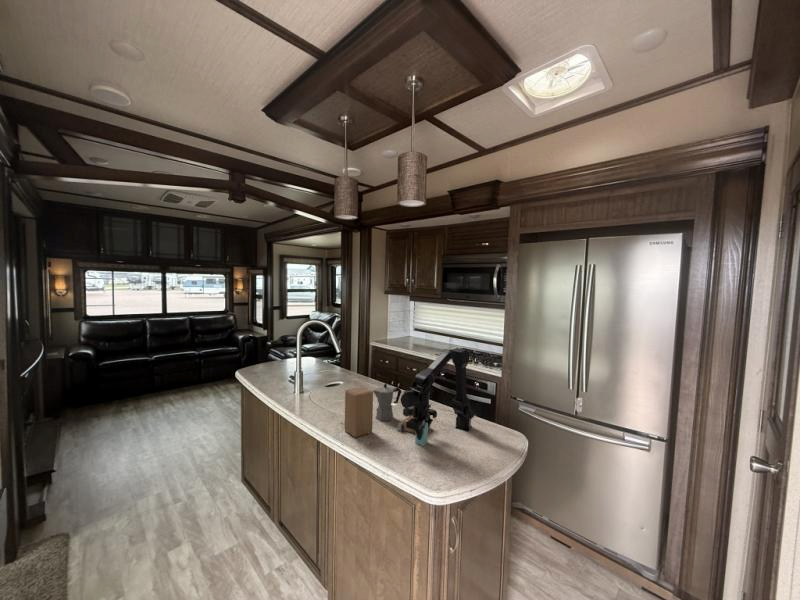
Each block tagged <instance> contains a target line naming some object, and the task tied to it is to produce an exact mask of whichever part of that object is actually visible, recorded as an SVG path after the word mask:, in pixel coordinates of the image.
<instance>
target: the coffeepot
mask: <svg viewBox="0 0 800 600" xmlns="http://www.w3.org/2000/svg"><path fill="white" fill-rule="evenodd" d="M372 391H373V394H374V395H375V396H376V399H377V403H378V405H377V410H376V411H377V412H376V416H375V418H376V420H377V421H379V422H391V421H392V420H393V419H394V413H393V406H392V402H393V403H394V404H398V402H399V399H400V398H401V396H402V390H401V389H400V387H388V384H386V383H384V384H383V386H381V387H378V388H377V389H374V390H372ZM396 392H397V395H396V399H395V401H393V398H394V397H393V396H394V393H396Z"/></svg>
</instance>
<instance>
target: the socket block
mask: <svg viewBox="0 0 800 600" xmlns="http://www.w3.org/2000/svg"><path fill="white" fill-rule="evenodd" d="M408 417H409V416H408ZM406 418H407V417H406ZM406 418H405V419H406ZM412 418H413V419H417V418H416V417H415V418H414V417H413V416H410V417H409V418H407V419H406V420H404V419H403V420H404V428H403V431H405V432H408V433H412V434H415V435H416V431H415V430H413V429H409V428H406V422H407V421H409V420H410V419H412ZM430 429H431V426H430V427H429V429H428V430H430Z"/></svg>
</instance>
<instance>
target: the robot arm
mask: <svg viewBox="0 0 800 600" xmlns="http://www.w3.org/2000/svg"><path fill="white" fill-rule="evenodd" d="M470 355H471V354H470V352H469V351H468V350H467V349H462V348H458V347H455V348H453V349H449V348H444V349H442V352H441V353H440V354H439V355H438V356H437V357H436V359H434V361H433V362H432V363H431V364H430V365H429V366H428V367H427V368H425V369H423V370H420V372H418V373H417V374H416V375H415V377H414V379H413V381H412V382H411V384H410V386H409V388H408V389H409V390H404V391H403V394H401V395H400V404H401V406H402V408H403V410H402V415H403V416H404V417H405V418H407V417H409V416H413V417H414V418H415V417H416V418H417V419H413V418H412V419H410V420H409V421H407V422H406V428H409V429H413V430H415V431H416V434H417V438H418V440H421V437H422V434H423V431H424V429H425V426H423V422H426V423H428V430H430V429H429V427H430V428H431V425H432V423H433V421H434V419H436V418H437V416H438V412H437V410H435V409H433V408H432V404H430V393H434V389H432V388H431V387H432V386H433V385H434V383H435V381H436V376H437V375H438V374H439V373H440V372H441V371H442V370H443V369H444V367H446V365H447V364H449V362H450V361H452V364H453V365H454V367H455V397H454V399H452V400H451V404H452V405H451V408H452V409H453V412H454V415H456V418H455V429H457V430H460V431H461V430H462V431H463V432H469V431H470V430H471V428H473V426H472V419H473V418H474V417H475V414H476V413H475V411H474V410H473V409H472V408H471V402H470V399H469V397H468V395H467V366H468V364H469V363H470ZM431 416H432V418H433V419H432V418H431ZM416 434H415V435H416Z"/></svg>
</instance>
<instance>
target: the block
mask: <svg viewBox="0 0 800 600" xmlns="http://www.w3.org/2000/svg"><path fill="white" fill-rule="evenodd" d="M373 391H374V390H372V389H369V388H367V387H364V386H362V385H361V386H357V387H351V388H347V389H345V392H344V393H345V394H344V395H345V396H344V431H345V432H347V433H348V434H349V435H351V436H352V437H354V438H358V437H361V436H365V435H366V434H370V433H372V432H373V418H374V417H373V413H374V411H373V409H374V392H373Z"/></svg>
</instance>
